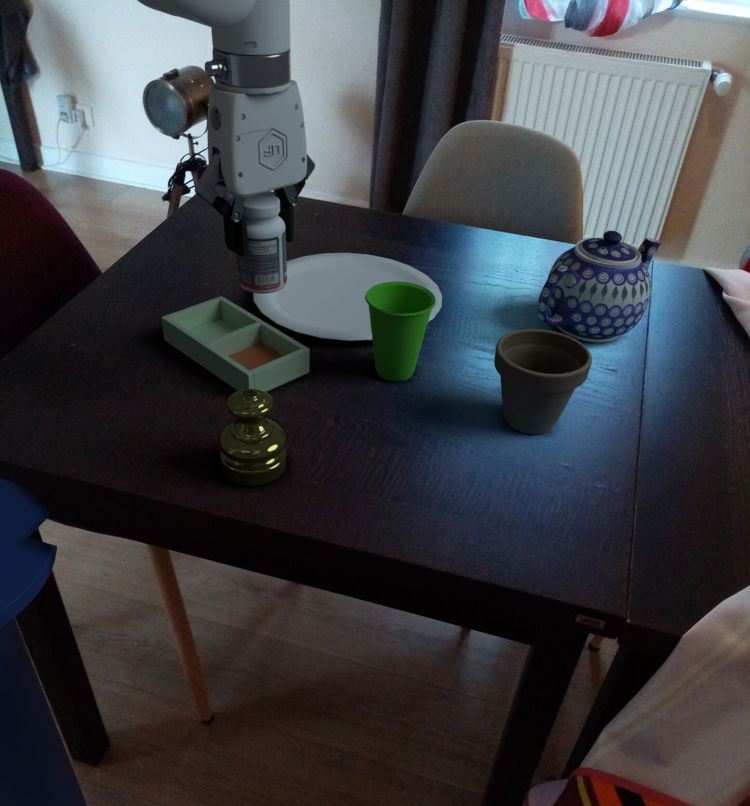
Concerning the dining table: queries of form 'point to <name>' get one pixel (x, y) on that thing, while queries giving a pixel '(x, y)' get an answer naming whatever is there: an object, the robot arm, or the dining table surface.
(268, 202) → the pill bottle
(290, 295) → the plate
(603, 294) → the teapot
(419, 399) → the dining table surface
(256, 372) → the tray
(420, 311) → the cup
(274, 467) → the brass tiered cylinder
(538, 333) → the flower pot
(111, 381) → the dining table surface
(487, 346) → the dining table surface
